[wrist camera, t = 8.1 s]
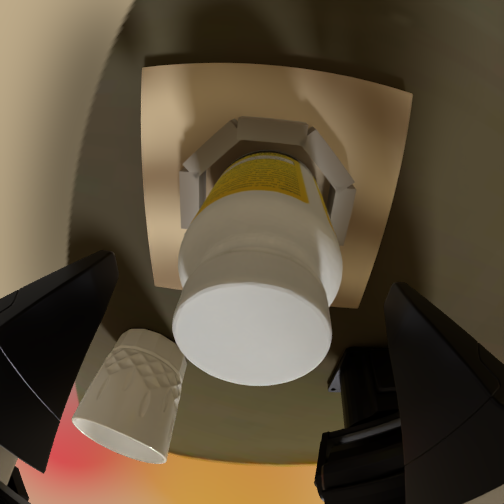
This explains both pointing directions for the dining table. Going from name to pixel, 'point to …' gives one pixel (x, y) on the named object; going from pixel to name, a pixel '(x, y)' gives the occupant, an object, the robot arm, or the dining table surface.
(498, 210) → the dining table surface
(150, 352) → the white cup
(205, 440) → the dining table surface
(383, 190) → the board
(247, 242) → the supplement bottle
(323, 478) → the robot arm
